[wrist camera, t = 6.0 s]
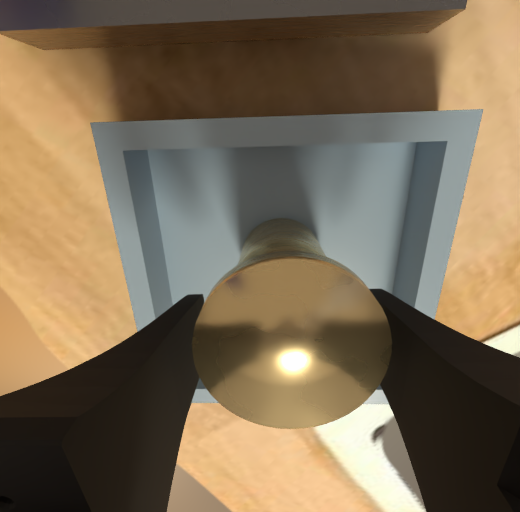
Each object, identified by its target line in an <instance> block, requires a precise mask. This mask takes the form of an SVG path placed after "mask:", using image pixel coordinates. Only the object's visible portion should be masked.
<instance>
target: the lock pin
mask: <svg viewBox="0 0 520 512" xmlns="http://www.w3.org/2000/svg"><path fill="white" fill-rule="evenodd" d="M192 352H193V359H194V364H195V367H196V370H197V373H198V375H199V377H200V379H201V381H202V383H203V385H204V386H205V388H206V389H207V390H208V392H209V393H210V394H211V395H212V396H213V397H214V398H215V399H216V400H217V401H218V402H219V403H220V404H221V405H222V406H224V407H225V408H226V409H227V410H229V411H231V412H232V413H234V414H235V415H237V416H239V417H241V418H243V419H245V420H248V421H250V422H253V423H256V424H259V425H263V426H267V427H273V428H280V429H301V428H309V427H315V426H319V425H323V424H327V423H329V422H332V421H335V420H337V419H339V418H341V417H343V416H345V415H347V414H349V413H351V412H352V411H354V410H355V409H357V408H358V407H359V406H360V405H362V404H363V403H364V402H365V401H366V400H367V399H368V398H369V397H370V396H371V395H372V394H373V393H374V392H375V390H376V389H377V388H378V386H379V385H380V383H381V382H382V380H383V378H384V376H385V374H386V371H387V368H388V366H389V363H390V357H391V352H392V338H391V330H390V326H389V323H388V320H387V317H386V315H385V313H384V311H383V309H382V307H381V305H380V304H379V303H378V301H377V300H376V298H375V297H374V295H373V294H372V293H371V291H370V290H369V288H368V287H367V286H366V284H365V283H364V282H363V281H362V280H361V279H360V278H359V277H358V276H357V275H356V274H355V273H354V272H353V271H351V270H350V269H349V268H348V267H346V266H344V265H342V264H341V263H339V262H337V261H335V260H333V259H331V258H328V257H326V255H325V253H324V252H323V250H322V248H321V246H320V244H319V242H318V240H317V239H316V237H315V235H314V234H313V232H312V231H311V230H310V229H309V228H308V227H306V226H305V225H304V224H302V223H300V222H298V221H296V220H292V219H287V218H276V219H271V220H268V221H265V222H263V223H261V224H259V225H258V226H257V227H255V228H254V229H253V230H252V231H251V232H250V234H249V235H248V236H247V238H246V240H245V242H244V245H243V248H242V252H241V255H240V258H239V262H238V265H237V266H236V267H234V268H233V269H231V270H230V271H228V272H227V273H226V274H225V275H224V276H223V277H222V278H221V279H220V280H219V281H218V282H217V283H216V285H215V286H214V287H213V288H212V290H211V291H210V293H209V295H208V296H207V298H206V300H205V303H204V305H203V307H202V309H201V312H200V314H199V316H198V319H197V321H196V324H195V328H194V332H193V339H192Z"/></svg>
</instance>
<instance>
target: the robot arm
mask: <svg viewBox="0 0 520 512" xmlns="http://www.w3.org/2000/svg"><path fill="white" fill-rule="evenodd" d="M369 290H370V291H371V293H372V294H373V295H374V297H375V298H376V300H377V301H378V303H379V304H380V305H381V307H382V309H383V311H384V313H385V315H386V317H387V320H388V323H389V326H390V330H391V338H392V352H391V357H390V363H389V366H388V368H387V371H386V374H385V376H384V378H383V380H382V382H381V383H380V386H381V388H382V390H383V392H384V394H385V396H386V398H387V401H388V403H389V405H390V407H391V409H392V411H393V414H394V416H395V418H396V421H397V423H398V426H399V429H400V431H401V434H402V437H403V440H404V443H405V446H406V449H407V452H408V455H409V458H410V461H411V464H412V467H413V470H414V473H415V476H416V479H417V482H418V485H419V488H420V491H421V495H422V498H423V501H424V505H425V508H426V511H427V512H520V358H519V357H516V356H514V355H511V354H508V353H505V352H503V351H500V350H498V349H495V348H493V347H490V346H488V345H485V344H483V343H481V342H479V341H477V340H474V339H472V338H470V337H468V336H465V335H463V334H461V333H459V332H457V331H455V330H453V329H451V328H449V327H447V326H445V325H444V324H442V323H440V322H438V321H436V320H434V319H432V318H431V317H429V316H427V315H425V314H424V313H422V312H420V311H419V310H417V309H415V308H414V307H412V306H410V305H409V304H407V303H405V302H404V301H402V300H400V299H399V298H397V297H396V296H394V295H392V294H391V293H389V292H387V291H385V290H383V289H369ZM203 305H204V297H203V294H188V295H186V296H185V297H183V298H182V299H181V300H179V301H178V302H177V303H175V304H174V305H173V306H172V307H170V308H169V309H168V310H167V311H165V312H164V313H163V314H161V315H160V316H159V317H158V318H156V319H155V320H154V321H152V322H151V323H149V324H148V325H147V326H145V327H144V328H142V329H141V330H139V331H138V332H137V333H135V334H134V335H132V336H131V337H129V338H128V339H126V340H124V341H123V342H121V343H120V344H118V345H116V346H114V347H113V348H111V349H109V350H108V351H106V352H104V353H102V354H100V355H98V356H96V357H94V358H92V359H90V360H88V361H86V362H84V363H82V364H80V365H78V366H76V367H74V368H72V369H70V370H67V371H65V372H63V373H61V374H58V375H56V376H54V377H51V378H49V379H46V380H44V381H41V382H39V383H36V384H34V385H31V386H28V387H26V388H23V389H20V390H17V391H14V392H12V393H8V394H5V395H3V396H0V512H167V506H168V501H169V496H170V490H171V485H172V480H173V475H174V471H175V466H176V461H177V456H178V451H179V447H180V442H181V438H182V433H183V429H184V425H185V421H186V418H187V414H188V411H189V408H190V405H191V402H192V399H193V396H194V393H195V390H196V387H197V384H198V381H199V378H200V377H199V375H198V373H197V370H196V367H195V364H194V359H193V352H192V339H193V332H194V328H195V324H196V321H197V319H198V316H199V314H200V312H201V309H202V307H203Z"/></svg>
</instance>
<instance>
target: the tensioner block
mask: <svg viewBox="0 0 520 512" xmlns="http://www.w3.org/2000/svg"><path fill="white" fill-rule="evenodd" d="M466 3H467V0H0V34H1V35H4V36H7V37H10V38H12V39H15V40H18V41H21V42H23V43H26V44H29V45H32V46H34V47H37V48H40V49H43V50H50V49H72V48H94V47H117V46H139V45H161V44H184V43H206V42H228V41H251V40H273V39H295V38H318V37H340V36H362V35H385V34H407V33H428V32H430V31H431V30H433V29H434V28H436V27H438V26H439V25H441V24H442V23H444V22H445V21H447V20H449V19H450V18H452V17H453V16H455V15H457V14H458V13H460V12H461V11H463V10H464V9H465V8H466Z"/></svg>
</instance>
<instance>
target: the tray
mask: <svg viewBox="0 0 520 512" xmlns="http://www.w3.org/2000/svg"><path fill="white" fill-rule="evenodd" d="M482 113H483V109H477V110H447V111H418V112H388V113H359V114H329V115H300V116H270V117H241V118H211V119H182V120H152V121H123V122H93V123H90V124H91V128H92V132H93V137H94V141H95V146H96V150H97V155H98V159H99V163H100V168H101V172H102V177H103V181H104V185H105V190H106V194H107V199H108V203H109V208H110V212H111V216H112V221H113V225H114V230H115V234H116V238H117V243H118V247H119V252H120V256H121V260H122V265H123V269H124V274H125V278H126V283H127V287H128V291H129V296H130V300H131V305H132V309H133V313H134V318H135V322H136V327H137V331H139V330H141V329H142V328H144V327H145V326H147V325H148V324H149V323H151V322H152V321H154V320H155V319H156V318H158V317H159V316H160V315H161V314H163V313H164V312H165V311H167V310H168V309H169V308H170V307H172V306H173V305H174V304H175V303H177V302H178V301H179V300H181V299H182V298H183V297H185V296H186V295H188V294H203V297H204V303H205V300H206V298H207V296H208V295H209V293H210V291H211V290H212V288H213V287H214V286H215V285H216V283H217V282H218V281H219V280H220V279H221V278H222V277H223V276H224V275H225V274H226V273H227V272H228V271H230V270H231V269H233V268H234V267H236V266H237V265H238V262H239V258H240V255H241V252H242V248H243V245H244V242H245V240H246V238H247V236H248V235H249V234H250V232H251V231H252V230H253V229H254V228H255V227H257V226H258V225H259V224H261V223H263V222H265V221H268V220H271V219H276V218H287V219H292V220H296V221H298V222H300V223H302V224H304V225H305V226H306V227H308V228H309V229H310V230H311V231H312V232H313V234H314V235H315V237H316V239H317V240H318V242H319V244H320V246H321V248H322V250H323V252H324V253H325V255H326V257H328V258H331V259H333V260H335V261H337V262H339V263H341V264H342V265H344V266H346V267H348V268H349V269H350V270H351V271H353V272H354V273H355V274H356V275H357V276H358V277H359V278H360V279H361V280H362V281H363V282H364V283H365V284H366V286H367V287H368V288H369V289H383V290H385V291H387V292H389V293H391V294H392V295H394V296H396V297H397V298H399V299H400V300H402V301H404V302H405V303H407V304H409V305H410V306H412V307H414V308H415V309H417V310H419V311H420V312H422V313H424V314H425V315H427V316H429V317H431V318H432V319H435V315H436V311H437V306H438V302H439V298H440V293H441V289H442V285H443V280H444V276H445V272H446V268H447V263H448V259H449V255H450V250H451V246H452V242H453V237H454V233H455V229H456V225H457V220H458V216H459V212H460V207H461V203H462V199H463V194H464V190H465V186H466V182H467V177H468V173H469V169H470V164H471V160H472V156H473V151H474V147H475V143H476V139H477V134H478V130H479V126H480V121H481V117H482ZM191 403H219V402H218V401H217V400H216V399H215V398H214V397H213V396H212V395H211V394H210V393H209V392H208V390H207V389H206V388H205V386H204V385H203V383H202V381H201V379H200V378H199V381H198V384H197V387H196V390H195V393H194V396H193V399H192V402H191ZM363 404H389V403H388V401H387V398H386V396H385V394H384V392H383V390H382V388H381V386H380V385H379V386H378V388H377V389H376V390H375V392H374V393H373V394H372V395H371V396H370V397H369V398H368V399H367V400H366V401H365V402H364V403H363Z"/></svg>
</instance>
